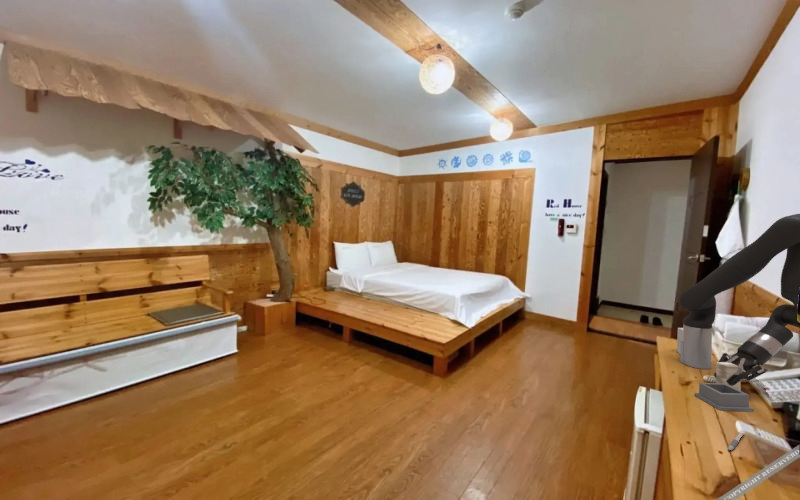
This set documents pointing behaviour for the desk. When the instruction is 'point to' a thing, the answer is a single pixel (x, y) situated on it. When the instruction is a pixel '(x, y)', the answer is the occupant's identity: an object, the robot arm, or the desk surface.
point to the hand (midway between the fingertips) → (722, 380)
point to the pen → (735, 442)
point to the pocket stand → (724, 397)
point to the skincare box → (679, 339)
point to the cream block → (726, 373)
